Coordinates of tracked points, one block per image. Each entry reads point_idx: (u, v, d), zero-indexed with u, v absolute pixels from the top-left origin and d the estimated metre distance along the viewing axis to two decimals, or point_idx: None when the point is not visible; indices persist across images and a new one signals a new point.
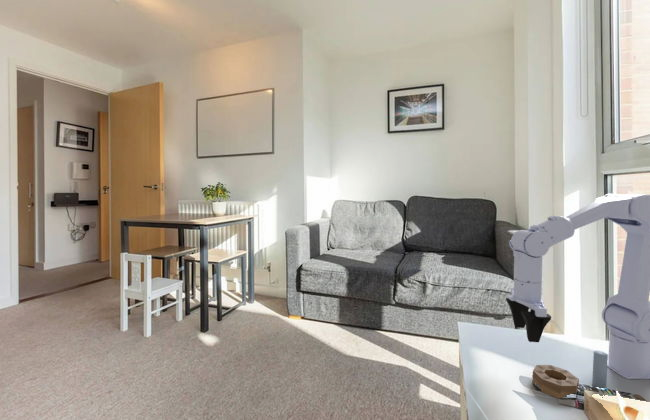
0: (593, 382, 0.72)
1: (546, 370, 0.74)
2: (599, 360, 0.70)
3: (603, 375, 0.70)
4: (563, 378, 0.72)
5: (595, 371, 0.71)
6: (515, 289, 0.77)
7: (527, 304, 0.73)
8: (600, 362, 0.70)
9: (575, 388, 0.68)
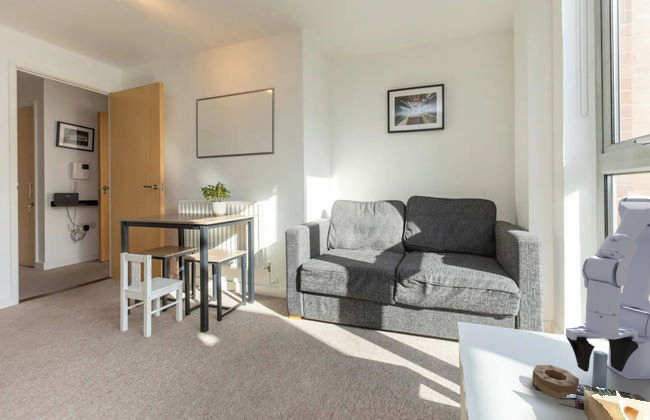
0: (593, 382, 0.72)
1: (546, 370, 0.74)
2: (599, 360, 0.70)
3: (603, 375, 0.70)
4: (563, 378, 0.72)
5: (595, 371, 0.71)
6: None
7: None
8: (600, 362, 0.70)
9: (575, 388, 0.68)
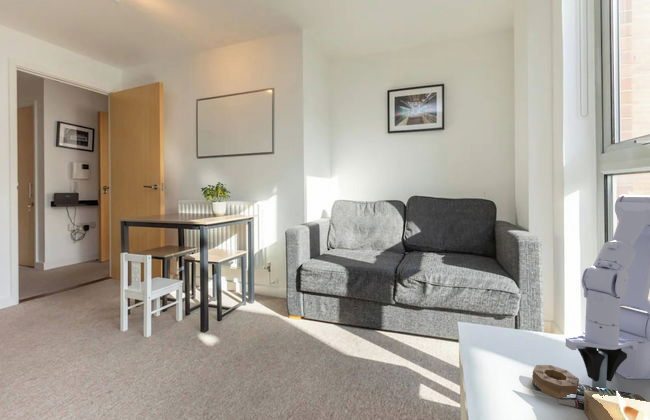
0: (593, 382, 0.72)
1: (546, 370, 0.74)
2: None
3: (603, 375, 0.70)
4: (563, 378, 0.72)
5: None
6: None
7: None
8: None
9: (575, 388, 0.68)
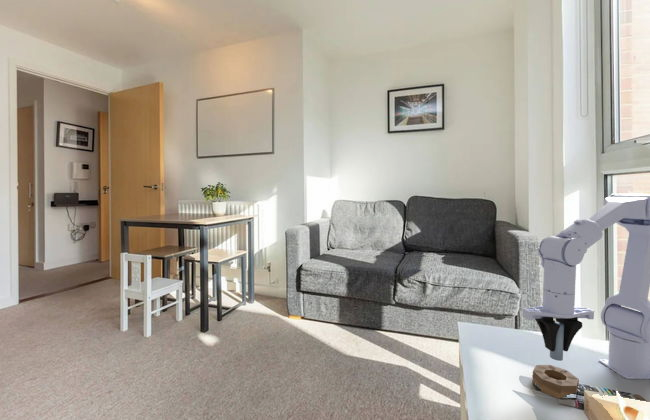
0: (550, 353, 0.71)
1: (546, 370, 0.74)
2: None
3: (559, 345, 0.70)
4: (563, 378, 0.72)
5: None
6: None
7: None
8: None
9: (575, 388, 0.68)
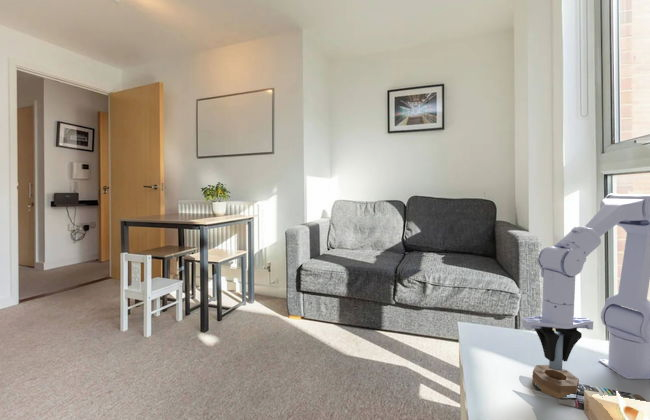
0: (550, 362, 0.71)
1: (546, 370, 0.74)
2: None
3: (559, 355, 0.70)
4: (563, 378, 0.72)
5: None
6: None
7: None
8: None
9: (575, 388, 0.68)
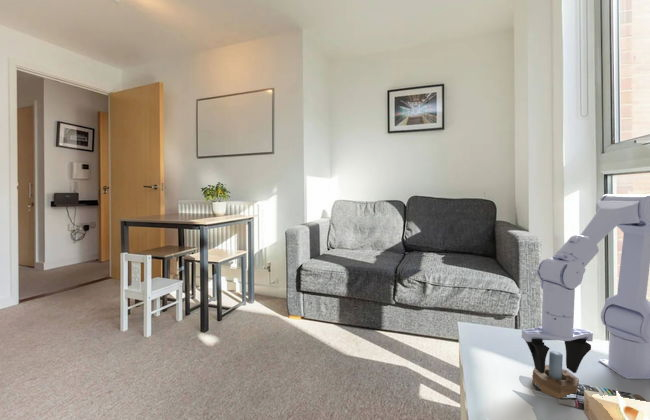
0: None
1: (546, 370, 0.74)
2: (554, 360, 0.70)
3: (558, 376, 0.70)
4: (563, 378, 0.72)
5: (550, 371, 0.71)
6: None
7: None
8: (555, 362, 0.70)
9: (575, 388, 0.68)
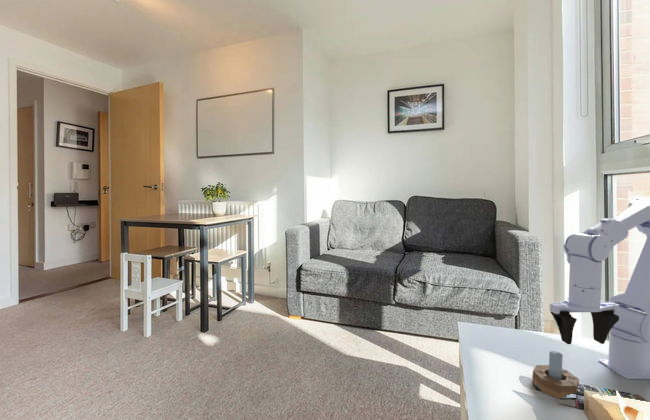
0: None
1: (546, 370, 0.74)
2: (554, 360, 0.70)
3: (558, 376, 0.70)
4: (563, 378, 0.72)
5: (550, 371, 0.71)
6: None
7: None
8: (555, 362, 0.70)
9: (575, 388, 0.68)
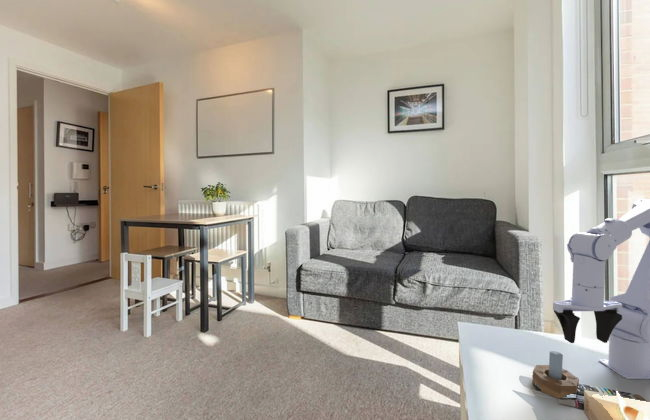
0: None
1: (546, 370, 0.74)
2: (554, 360, 0.70)
3: (558, 376, 0.70)
4: (563, 378, 0.72)
5: (550, 371, 0.71)
6: None
7: None
8: (555, 362, 0.70)
9: (575, 388, 0.68)
